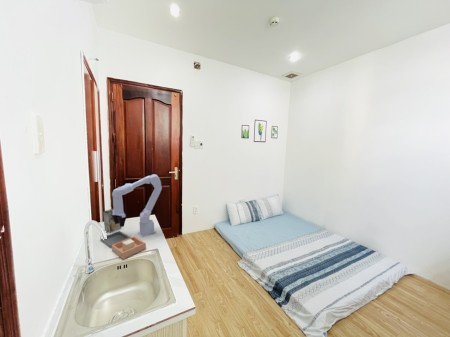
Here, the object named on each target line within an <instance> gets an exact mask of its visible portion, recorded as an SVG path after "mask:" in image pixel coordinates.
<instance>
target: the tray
mask: <svg viewBox="0 0 450 337" xmlns="http://www.w3.org/2000/svg"><path fill="white" fill-rule="evenodd" d="M106 236H107V239H104V240H103V239H101V237H100V239H99V240H100V242H101V243H103V244H105V245H106V246H107V247H108V248H110V249H112V245H113V244H116V243H118V242H121V241H123V240H126V239H128V238H131V237H132V236H130V235H127V234H126V233H124V232H122V231H120V230H117V231H114V232H112V233H109V234H107V235H106Z"/></svg>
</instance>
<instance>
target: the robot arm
mask: <svg viewBox="0 0 450 337" xmlns="http://www.w3.org/2000/svg"><path fill="white" fill-rule="evenodd" d="M144 184H148V185H149V184H151V185H152V186H153V188H154V189H153V191H152V193H151V195H150V196H149V199H148V201H147V203H146V205H145V206H144V207H145V208H144V209H143V210H142V211H141V212H140V213H139V222H138V223H139V232H138V233H137V234H138V235H139V236H141V237H143V238H144V237H146V236H149V235H151V234H154V233H156V231H155V221H153V220H152V219H150V216H151V214H152V211H153V209H154V207H155V205H156V202H157V201H158V198H159V197H160V194H161V191H162V190H163V188H162V181H161V179H160V177H159V176H158V174H155V173H153V174H151V175H147V176H144V177H143V178H141V179H138V181H135V182H133V183H130V182H129V183H125V184H124V185H122V186H118V187H117V188H115V189H113V191H112V193H111V196H112V206H113V208H114V210H113V214H112V215H111V216H112V217H113V219H114V222H115V224H118V223H120V227H121V228H122V227H124V226H125V223H126V220H127V218H128V216H127V215H126V213H125V211H124V202H123V201H124V200H123V196H124V195H127V194H129V193H131V192H133V191H134V189H135V188H136V187H137V188H138V187H139V186H142V185H144ZM113 208H112V209H113Z"/></svg>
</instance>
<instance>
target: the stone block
mask: <svg viewBox="0 0 450 337" xmlns="http://www.w3.org/2000/svg"><path fill="white" fill-rule="evenodd" d="M122 246H123V250H124V251H127V250H129V249H131V248H134V247H135V243H134V241H133V240H131V239H129V240H127V241H124V242H122Z"/></svg>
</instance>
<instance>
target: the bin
mask: <svg viewBox="0 0 450 337" xmlns="http://www.w3.org/2000/svg"><path fill="white" fill-rule="evenodd" d="M130 237H131V238H128V239H126V240H123V241H121V242H118V243H116V244H113V245H112V248H111V251H112V252H114V253H115V255H117V256H118V257H119V258H120V259H122V260H126V259H128V258H130V257H131V256H134V255H137V254H138V253H140V252H143V251H145V250H147V244H146V242H145V241H143V240H142V239H139V238H138V237H136V236H130ZM129 239H131V240H133V241H134V243H135V247H134V248H131V249H129V250H127V251H124V250H123V246H122V242H124V241H127V240H129Z"/></svg>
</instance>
